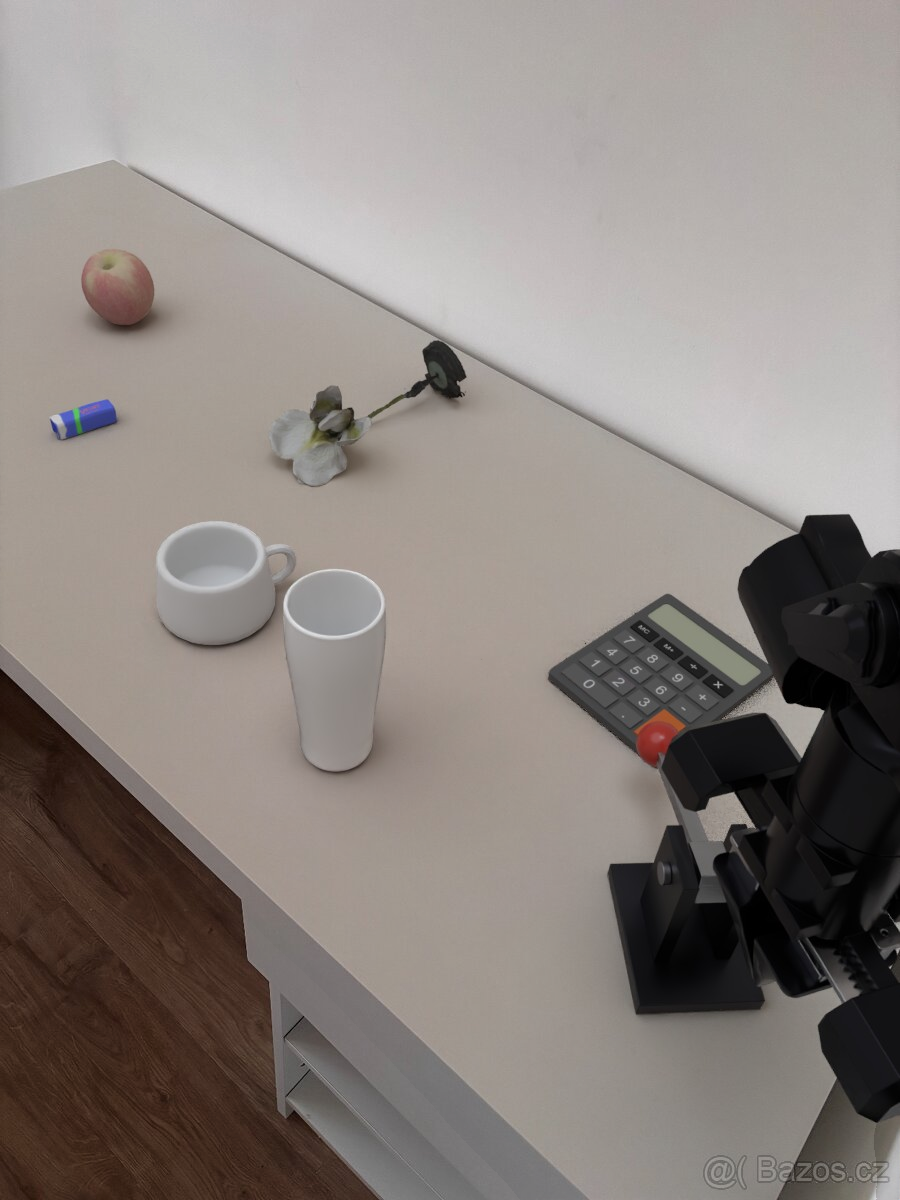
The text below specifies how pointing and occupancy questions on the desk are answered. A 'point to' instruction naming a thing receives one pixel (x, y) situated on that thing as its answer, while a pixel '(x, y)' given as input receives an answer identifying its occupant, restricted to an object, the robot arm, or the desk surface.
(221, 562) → the mug
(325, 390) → the artificial flower
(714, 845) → the lever
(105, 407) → the eraser
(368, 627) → the drinking glass
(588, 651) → the calculator
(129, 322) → the apple
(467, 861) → the desk surface
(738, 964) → the switch bracket
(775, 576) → the robot arm
